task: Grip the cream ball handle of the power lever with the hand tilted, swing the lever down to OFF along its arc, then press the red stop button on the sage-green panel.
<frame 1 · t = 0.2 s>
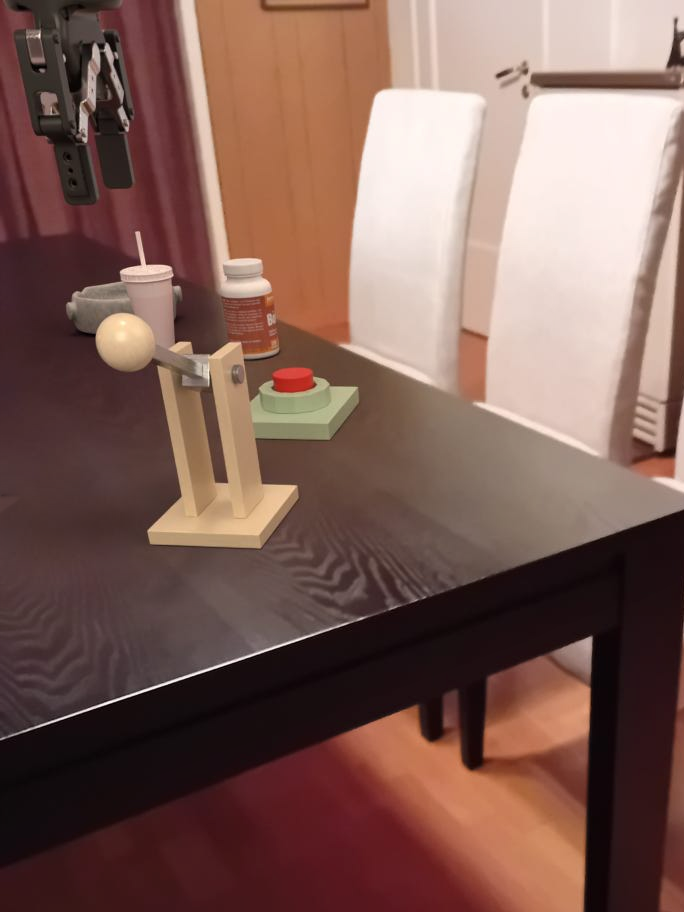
hand: (102, 196, 73), 24 cm above the table, tool pointing down, fingers open, 8 cm apart
dish: (126, 327, 141), on the table
switch lever: (166, 358, 70), point 15 cm above the table, hinge at 25.0°
smoothie: (160, 349, 130), on the table
stop button: (293, 381, 102), point 4 cm above the table, slide at 0.1 cm
pill bottle: (255, 355, 126), on the table
stop panel: (298, 419, 104), on the table
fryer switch: (227, 520, 82), on the table
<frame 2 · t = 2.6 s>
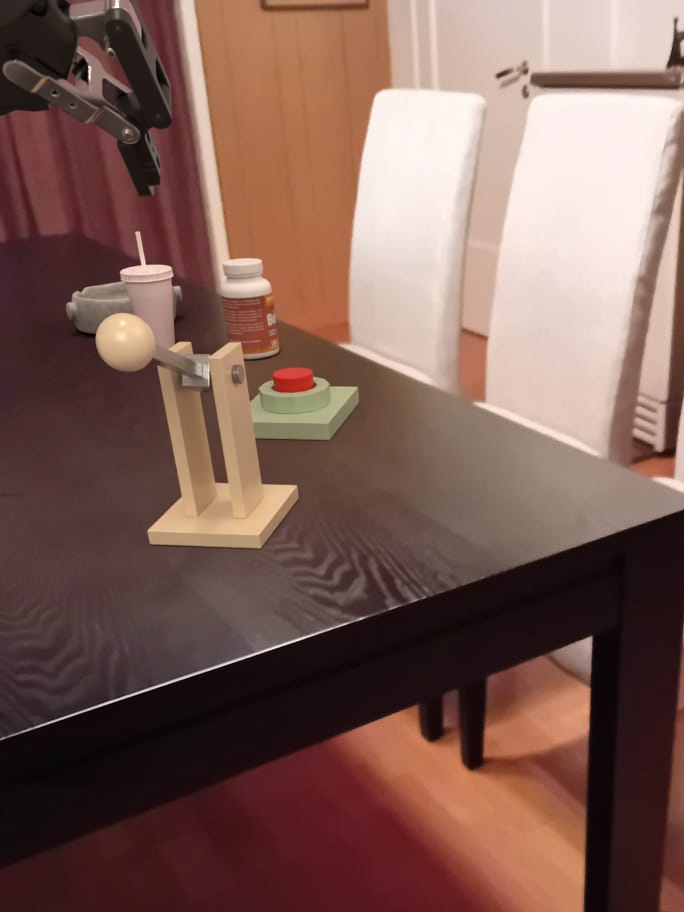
hand: (69, 195, 55), 26 cm above the table, tool tilted 40°, fingers open, 8 cm apart
nothing on the table moved.
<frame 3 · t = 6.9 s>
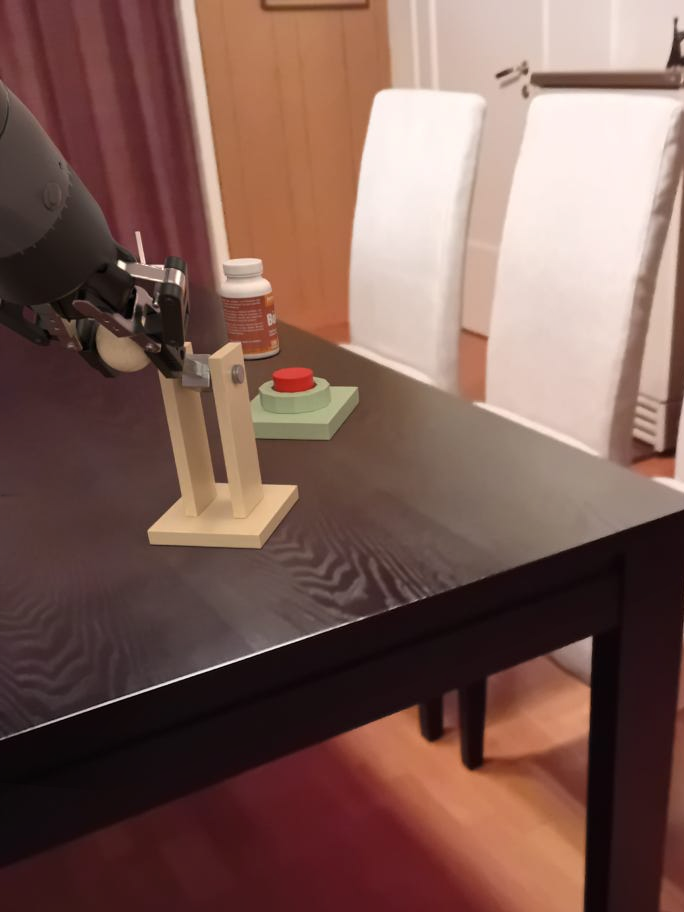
hand: (144, 365, 67), 15 cm above the table, tool tilted 45°, fingers closed on switch lever, 3 cm apart
switch lever: (166, 358, 70), point 15 cm above the table, hinge at 25.0°, touching gripper
everything else where it was.
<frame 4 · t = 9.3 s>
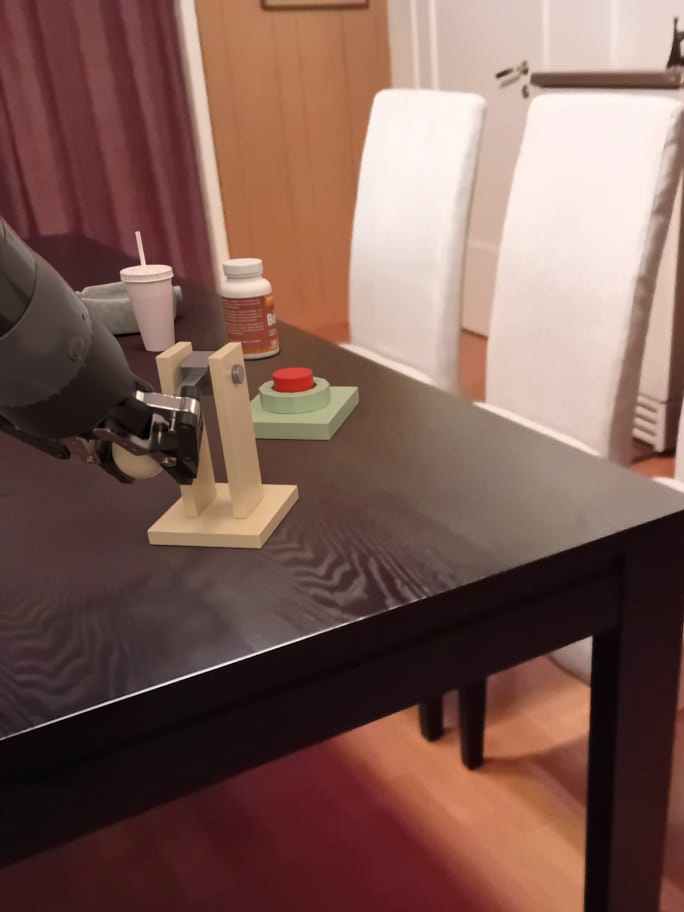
hand: (159, 471, 69), 8 cm above the table, tool tilted 45°, fingers closed on switch lever, 3 cm apart
switch lever: (172, 411, 71), point 11 cm above the table, hinge at -8.5°, touching gripper
everything else where it was.
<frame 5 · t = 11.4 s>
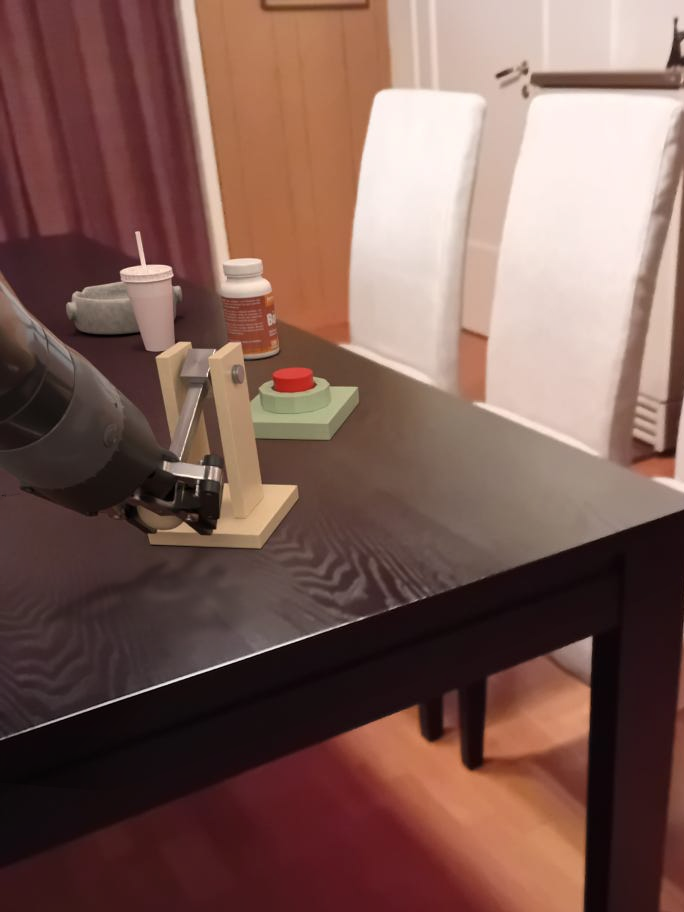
hand: (180, 521, 73), 3 cm above the table, tool tilted 45°, fingers closed on switch lever, 3 cm apart
switch lever: (183, 438, 73), point 9 cm above the table, hinge at -31.4°, touching gripper
everything else where it was.
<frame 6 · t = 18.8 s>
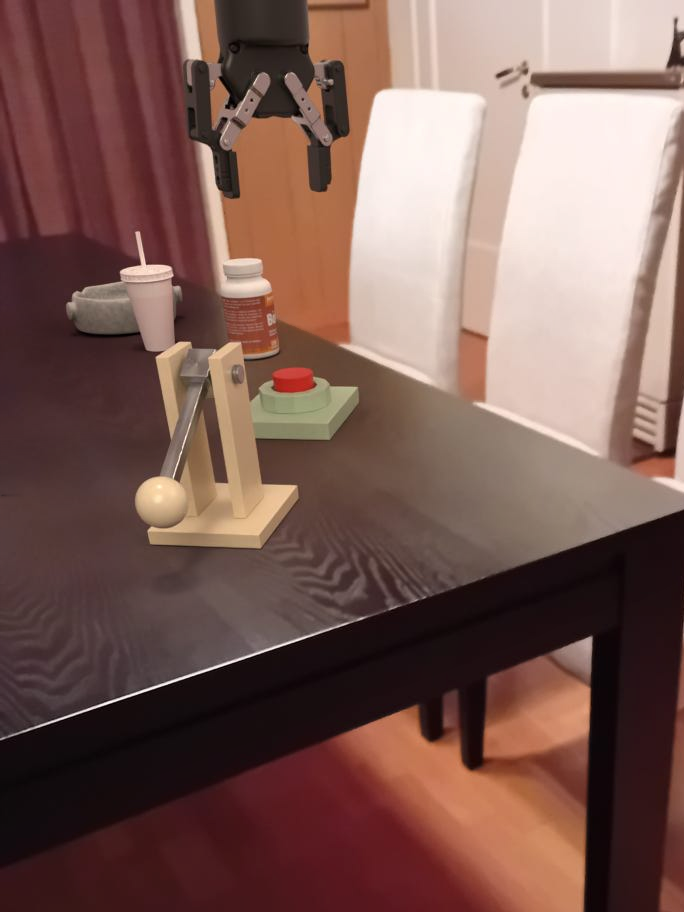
hand: (275, 194, 90), 22 cm above the table, tool pointing down, fingers open, 8 cm apart
switch lever: (182, 437, 73), point 9 cm above the table, hinge at -30.4°
everything else where it was.
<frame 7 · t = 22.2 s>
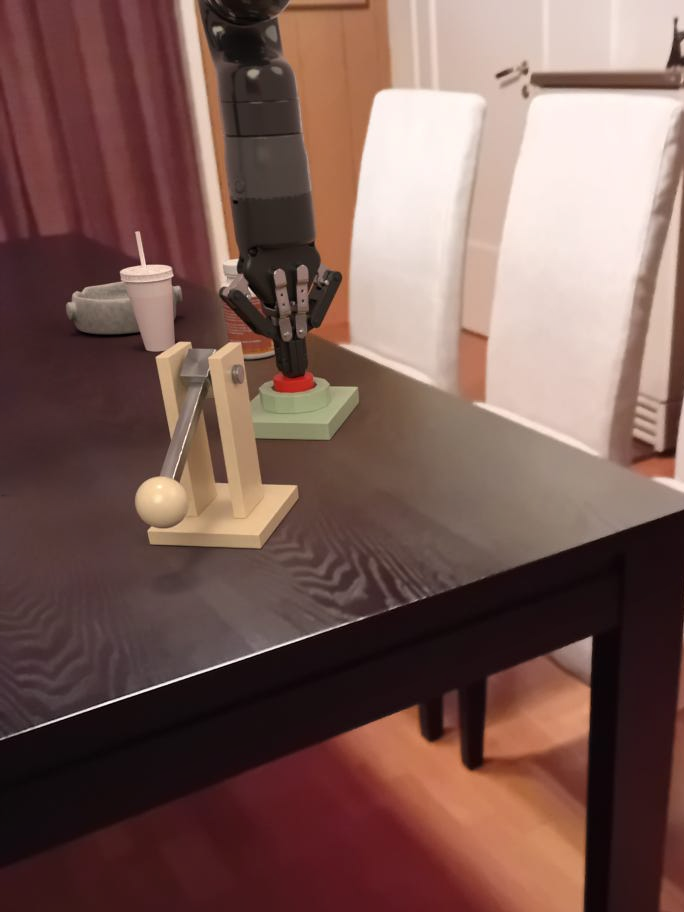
hand: (293, 375, 101), 5 cm above the table, tool pointing down, fingers closed
stop button: (293, 384, 102), point 4 cm above the table, slide at -0.3 cm, touching gripper
everything else where it was.
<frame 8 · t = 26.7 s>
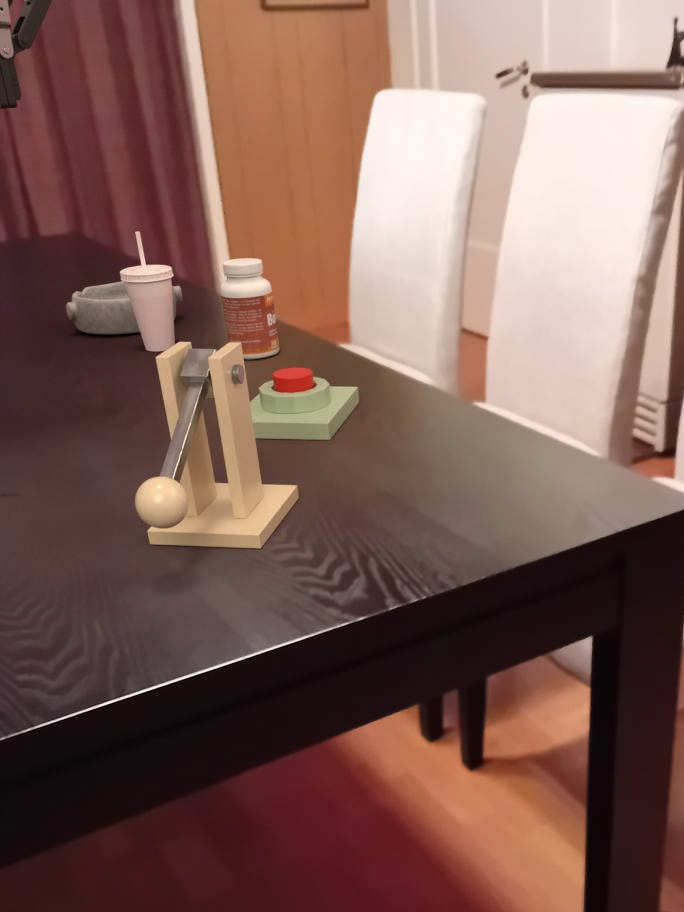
hand: (5, 107, 89), 29 cm above the table, tool pointing down, fingers closed
stop button: (293, 381, 102), point 4 cm above the table, slide at 0.1 cm
everything else where it was.
at the end: switch lever at -30° (first picture: +25°); stop button pushed in 1.1 cm at the most during the clip, back to where it started at the end; stop button slide at 0.1 cm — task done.
